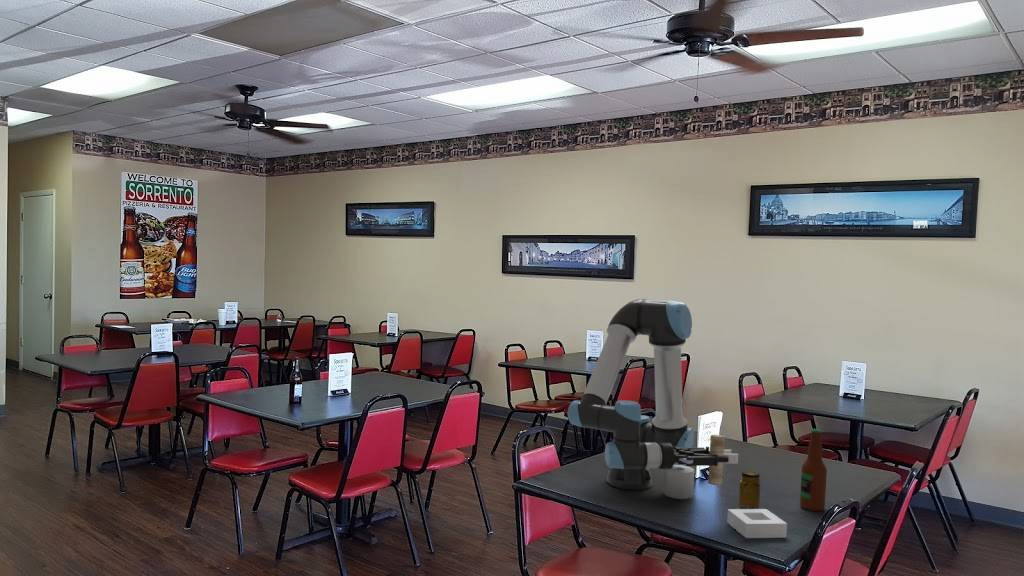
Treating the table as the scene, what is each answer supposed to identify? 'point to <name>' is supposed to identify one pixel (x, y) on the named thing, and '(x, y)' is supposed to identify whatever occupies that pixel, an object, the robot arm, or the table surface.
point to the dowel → (714, 471)
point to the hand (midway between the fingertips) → (734, 456)
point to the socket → (757, 523)
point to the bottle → (813, 476)
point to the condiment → (749, 490)
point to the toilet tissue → (679, 482)
